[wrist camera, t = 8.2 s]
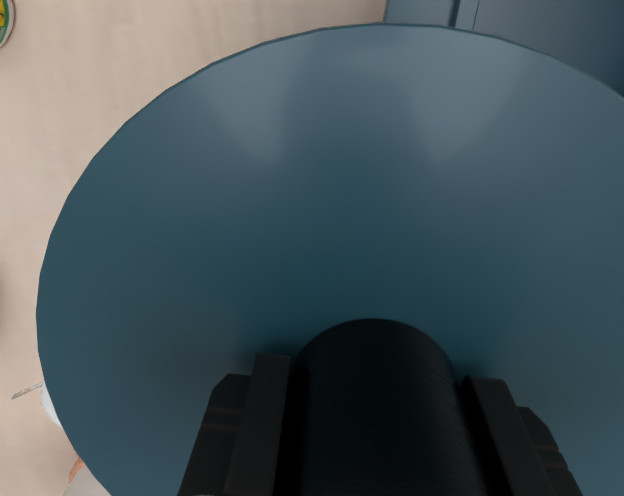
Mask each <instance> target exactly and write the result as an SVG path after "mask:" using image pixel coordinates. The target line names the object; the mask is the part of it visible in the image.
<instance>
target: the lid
mask: <svg viewBox="0 0 624 496" xmlns="http://www.w3.org/2000/svg"><path fill="white" fill-rule="evenodd" d="M36 324H37V340H38V352H39V357H40V362H41V366H42V371H43V376H44V380H45V385H46V388H47V391H48V393H49V396H50V399H51V401H52V404H53V407H54V410H55V412H56V415H57V418H58V420H59V422H60V424H61V425H62V427H63V429H64V431H65V433H66V435H67V437H68V438H69V440H70V442H71V444H72V446H73V448H74V450H75V451H76V452H77V454H78V455H79V457H80V458H81V459H82V461H83V462H84V463H85V465H86V466H87V468H88V469H89V470H90V472H91V473H92V475H93V476H94V477H95V478H96V480H97V481H98V482H99V483H100V484H101V485H102V486H103V487H104V488H105V489H106V490H107V492H108V493H109V494H110V495H111V496H177V494H178V492H179V489H180V486H181V483H182V480H183V477H184V474H185V471H186V468H187V465H188V462H189V459H190V456H191V453H192V450H193V447H194V444H195V441H196V438H197V435H198V432H199V429H200V427H201V423H202V420H203V417H204V414H205V412H206V408H207V405H208V402H209V399H210V396H211V393H212V390H213V388H214V387H215V386H216V385H217V384H218V383H219V382H220V381H221V380H222V379H223V378H224V377H225V376H226V375H227V374H228V373H232V374H241V375H250V376H251V375H252V370H253V366H254V362H255V358H256V354H257V351H259V352H268V353H277V354H286V355H292V356H291V367H290V376H289V385H288V392H287V400H286V407H285V415H284V422H283V430H282V437H281V445H280V452H279V460H278V467H277V475H276V482H275V490H274V496H495V495H494V492H493V489H492V486H491V483H490V480H489V477H488V474H487V471H486V468H485V465H484V462H483V459H482V455H481V452H480V449H479V446H478V443H477V440H476V437H475V434H474V431H473V428H472V425H471V422H470V419H469V416H468V412H467V409H466V406H465V403H464V400H463V397H462V394H461V391H460V386H461V383H462V380H463V378H464V377H465V376H466V375H469V376H478V377H487V378H495V379H503V380H504V381H505V382H506V384H507V386H508V388H509V391H510V393H511V395H512V397H513V399H514V401H515V404H516V406H521V407H529V408H530V409H531V410H532V411H533V412H534V413H535V414H536V415H537V416H538V417H539V418H540V419H541V420H542V421H543V422H544V423H545V424H546V425H547V426H548V428H549V430H550V432H551V433H552V435H553V437H554V439H555V441H556V443H557V445H558V447H559V453H562V455H563V457H564V459H565V461H566V463H567V465H568V471H571V473H572V475H573V477H574V479H575V481H576V483H577V484H578V486H579V488H580V490H581V492H582V494H583V496H624V97H622V96H621V95H620V94H618V93H617V92H616V91H614V90H613V89H612V88H610V87H609V86H608V85H606V84H605V83H604V82H602V81H601V80H599V79H597V78H595V77H594V76H592V75H590V74H588V73H586V72H584V71H582V70H580V69H578V68H577V67H575V66H573V65H571V64H569V63H567V62H565V61H563V60H561V59H559V58H558V57H556V56H554V55H552V54H549V53H546V52H543V51H541V50H538V49H535V48H532V47H529V46H526V45H523V44H520V43H517V42H514V41H512V40H509V39H506V38H503V37H500V36H497V35H492V34H486V33H481V32H476V31H470V30H465V29H460V28H454V27H449V26H444V25H438V24H417V23H393V22H371V23H361V24H352V25H342V26H332V27H322V28H317V29H313V30H309V31H305V32H301V33H297V34H293V35H289V36H285V37H281V38H277V39H273V40H269V41H265V42H262V43H260V44H258V45H255V46H253V47H250V48H248V49H245V50H243V51H240V52H238V53H235V54H233V55H230V56H228V57H225V58H223V59H220V60H218V61H216V62H213V63H211V64H209V65H207V66H206V67H204V68H202V69H201V70H199V71H197V72H195V73H194V74H192V75H190V76H189V77H187V78H185V79H183V80H182V81H180V82H178V83H177V84H175V85H173V86H172V87H170V88H168V89H166V90H165V91H163V92H162V93H161V94H160V95H159V96H157V97H156V98H155V99H154V100H152V101H151V102H150V103H149V104H147V105H146V106H145V107H144V108H142V109H141V110H140V111H139V112H137V113H136V114H135V115H134V116H132V117H131V118H130V119H129V120H128V121H126V122H125V123H124V124H123V125H122V126H121V128H120V129H119V130H118V131H117V132H116V133H115V134H114V135H113V136H112V137H111V138H110V140H109V141H108V142H107V143H106V144H105V145H104V146H103V147H102V148H101V149H100V151H99V152H98V153H97V154H96V155H95V156H94V157H93V158H92V160H91V161H90V163H89V164H88V166H87V167H86V169H85V170H84V172H83V174H82V175H81V177H80V178H79V180H78V181H77V183H76V184H75V186H74V187H73V189H72V190H71V192H70V193H69V195H68V197H67V199H66V201H65V203H64V205H63V208H62V210H61V212H60V214H59V217H58V219H57V221H56V223H55V226H54V228H53V230H52V232H51V234H50V238H49V242H48V245H47V249H46V253H45V257H44V260H43V264H42V268H41V272H40V277H39V287H38V297H37V308H36Z"/></svg>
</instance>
